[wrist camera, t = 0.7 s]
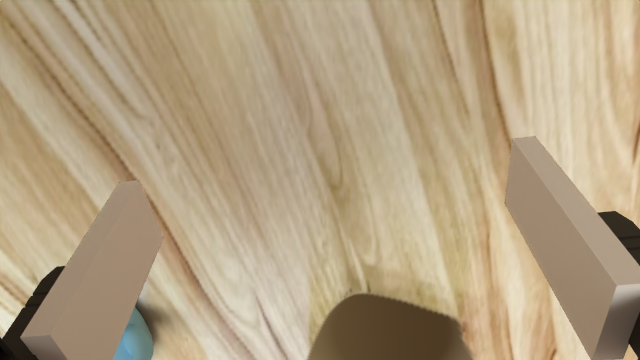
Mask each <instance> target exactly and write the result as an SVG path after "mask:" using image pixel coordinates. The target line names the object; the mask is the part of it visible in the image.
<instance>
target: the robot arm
mask: <svg viewBox="0 0 640 360" xmlns="http://www.w3.org/2000/svg"><path fill="white" fill-rule="evenodd" d="M505 205H506V207H507V209H508V210H509V212H510V214H511V216H512V218H513V219H514V221H515V223H516V225H517V227H518V229H519V230H520V232H521V234H522V236H523V238H524V239H525V241H526V243H527V245H528V247H529V248H530V250H531V252H532V254H533V256H534V257H535V259H536V261H537V263H538V265H539V267H540V268H541V270H542V272H543V274H544V276H545V277H546V279H547V281H548V283H549V285H550V286H551V288H552V290H553V292H554V294H555V296H556V297H557V299H558V301H559V303H560V305H561V306H562V308H563V310H564V312H565V314H566V315H567V317H568V319H569V321H570V323H571V324H572V326H573V328H574V330H575V332H576V334H577V335H578V337H579V339H580V341H581V343H582V344H583V346H584V348H585V350H586V352H587V353H588V355H589V357H590V359H591V360H613V359H623V358H624V355H625V353H626V350H627V348H628V345H629V344H630V346H631V347H632V349H633V350H634V352H635V354H636V355H637V357H638V360H640V229H639V228H638V227H637V226H636V225H635V224H634V223H633V222H632V221H631V220H629V219H627V218H626V217H624V216H622V215H621V214H619V213H618V212H616V211H611V212H600V213H597V212H596V211H595V210H594V208H593V207H592V206H591V205H590V203H589V202H588V201H587V200H586V199H585V197H584V196H583V195H582V194H581V192H580V191H579V190H578V189H577V187H576V186H575V185H574V184H573V182H572V181H571V180H570V179H569V177H568V176H567V175H566V174H565V172H564V171H563V170H562V169H561V167H560V166H559V165H558V164H557V163H556V161H555V160H554V159H553V158H552V156H551V155H550V154H549V153H548V151H547V150H546V149H545V148H544V146H543V145H542V144H541V143H540V141H539V140H538V139H537V138H536V136H533V137H524V138H515V139H512V145H511V154H510V162H509V170H508V179H507V187H506V195H505ZM163 238H164V237H163V235H162V232H161V230H160V228H159V225H158V223H157V220H156V218H155V216H154V213H153V211H152V209H151V206H150V204H149V201H148V199H147V197H146V194H145V192H144V190H143V187H142V185H141V182H140V180H135V181H126V182H119V183H118V185H117V186H116V188H115V189H114V191H113V193H112V194H111V196H110V197H109V199H108V200H107V202H106V203H105V205H104V207H103V208H102V210H101V211H100V213H99V214H98V216H97V218H96V219H95V221H94V222H93V224H92V225H91V227H90V229H89V230H88V232H87V233H86V235H85V236H84V238H83V240H82V241H81V243H80V244H79V246H78V247H77V249H76V251H75V252H74V254H73V255H72V257H71V258H70V260H69V261H68V263H67V265H66V266H60V267H56V268H55V269H54V270H52V271H51V272H50V273H49V274H48V275H47V276H46V277H45V278H43V279H42V281H41V282H40V283H39V285H38V286H37V288H36V289H35V291H34V292H33V296H31V297H30V298H29V300H28V301H27V303H26V304H25V308H23V309H22V310H21V312H20V313H19V315H18V316H17V318H16V319H15V321H14V322H13V324H12V325H11V327H10V328H9V329H8V331H7V332H6V334H5V335H4V337H3V338H2V339H1V338H0V360H112V359H113V357H114V355H115V352H116V350H117V347H118V345H119V343H120V340H121V338H122V336H123V333H124V331H125V328H126V326H127V324H128V321H129V319H130V317H131V314H132V312H133V309H134V307H135V305H136V302H137V300H138V298H139V295H140V293H141V290H142V288H143V286H144V283H145V281H146V279H147V276H148V274H149V271H150V269H151V267H152V264H153V262H154V260H155V257H156V255H157V252H158V250H159V248H160V245H161V243H162V241H163Z"/></svg>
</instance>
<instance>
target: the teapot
mask: <svg viewBox="0 0 640 360" xmlns="http://www.w3.org/2000/svg"><path fill="white" fill-rule="evenodd" d="M152 356H153V339H152V335H151V333H150V331H149V328H148V326H147V324H146V322H145V321H144V319H143V317H142V316H141V314H140V313H139V311H138V310H137V309H136V308H135V307H134V309H133V312H132V314H131V317H130V319H129V321H128V324H127V326H126V328H125V331H124V333H123V336H122V338H121V340H120V343H119V345H118V347H117V350H116V352H115V355H114V357H113V359H112V360H151V358H152Z"/></svg>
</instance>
